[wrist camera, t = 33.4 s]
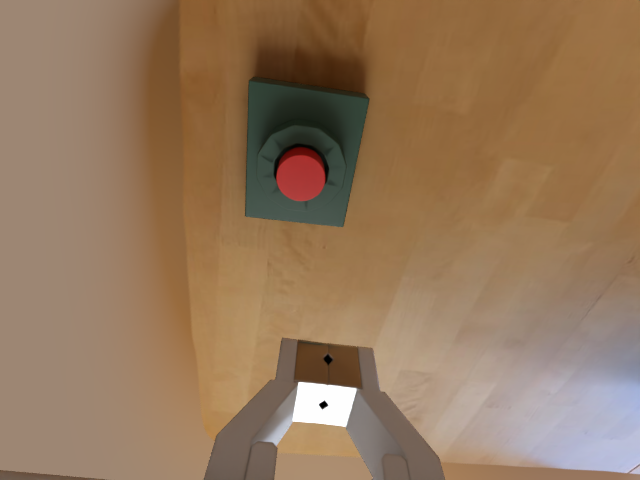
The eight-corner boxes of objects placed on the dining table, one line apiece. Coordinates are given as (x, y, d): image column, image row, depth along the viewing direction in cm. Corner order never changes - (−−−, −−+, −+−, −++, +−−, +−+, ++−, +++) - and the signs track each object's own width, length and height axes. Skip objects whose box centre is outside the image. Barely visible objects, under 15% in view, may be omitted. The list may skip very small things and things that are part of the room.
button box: (253, 76, 23) (243, 83, 20) (365, 93, 24) (374, 103, 21) (249, 204, 28) (241, 228, 25) (341, 215, 29) (345, 239, 26)
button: (280, 143, 22) (278, 151, 21) (327, 150, 22) (328, 158, 21) (276, 188, 24) (274, 198, 22) (320, 193, 24) (321, 204, 23)
